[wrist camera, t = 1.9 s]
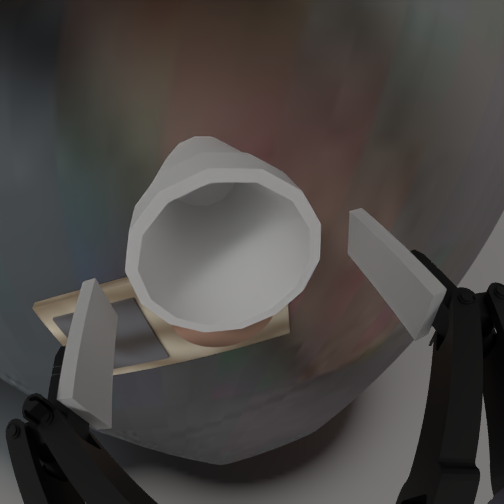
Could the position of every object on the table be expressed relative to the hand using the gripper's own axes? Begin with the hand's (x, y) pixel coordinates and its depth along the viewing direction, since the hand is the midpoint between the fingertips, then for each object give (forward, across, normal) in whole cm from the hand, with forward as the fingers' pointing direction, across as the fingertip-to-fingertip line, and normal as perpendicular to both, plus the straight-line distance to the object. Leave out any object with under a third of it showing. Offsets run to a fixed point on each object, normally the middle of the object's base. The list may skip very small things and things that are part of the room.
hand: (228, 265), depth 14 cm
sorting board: (+13, -8, -15) cm, 22 cm away
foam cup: (+13, 0, +1) cm, 13 cm away
